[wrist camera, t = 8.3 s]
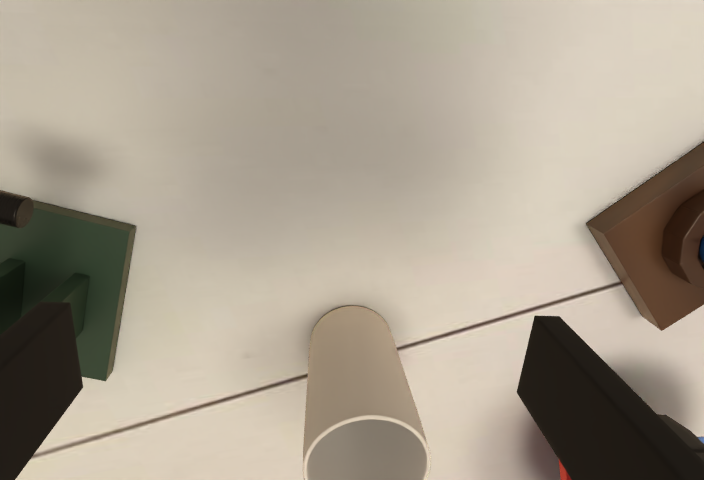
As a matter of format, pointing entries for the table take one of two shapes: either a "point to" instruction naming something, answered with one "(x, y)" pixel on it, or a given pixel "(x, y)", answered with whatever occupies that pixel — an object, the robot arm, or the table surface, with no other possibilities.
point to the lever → (15, 209)
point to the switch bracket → (69, 276)
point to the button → (702, 249)
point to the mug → (360, 404)
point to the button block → (659, 241)
